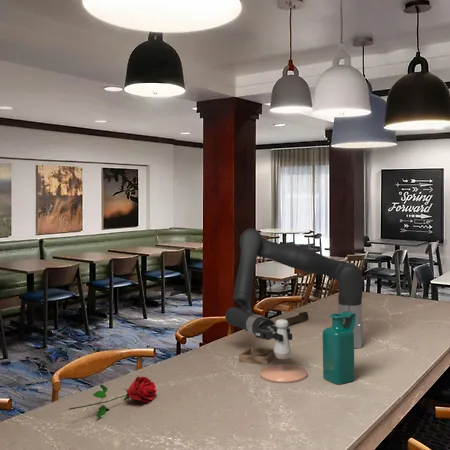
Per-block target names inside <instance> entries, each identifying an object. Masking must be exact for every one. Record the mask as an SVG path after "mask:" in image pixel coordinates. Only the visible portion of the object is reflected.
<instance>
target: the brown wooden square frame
mask: <svg viewBox="0 0 450 450" xmlns="http://www.w3.org/2000/svg"><path fill="white" fill-rule="evenodd" d="M238 358H239V359H238V361H239V363H248V364H256V365H266V366H269V364H270V363H271V362H272V361H273V360H274V359H275V358H277V357H276V356H275V353H274V348H263V347H262V348H261V347H253V346H249V347H247V348H246V349H245V350H244V351H243V352H242V353H241V352H240V354H239V355H238Z"/></svg>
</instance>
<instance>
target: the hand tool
mask: <svg viewBox="0 0 450 450" xmlns="http://www.w3.org/2000/svg"><path fill="white" fill-rule="evenodd" d="M283 319H284V320H287V321H288V327H290V326H292V325H294V324H297V323H304V322H307V321H308V320H309V314H308V312H307V311H302V312H299V313H298V315H294V316H291V317H288V318H283Z"/></svg>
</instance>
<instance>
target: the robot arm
mask: <svg viewBox="0 0 450 450" xmlns="http://www.w3.org/2000/svg"><path fill="white" fill-rule="evenodd" d="M239 237H240V238H239V248H240V256H239V257H240V258H239V265H238V269H237V274H236V278H235V279H236V280H235V284H234V289H233V297H232V299H233V300H234V301H235V302H236V303H238V304H239V305H240V307H236V306H232V307H231V306H230V308H228V309H227V310H226V312H225V316H224V317H225V318H224V319H225V321H226V322H227V324H229V325H231V326H233V327H236V328H239V329H243V330H245V331H246V332H249V333H250V334H251V335H253V336H255V338H257V339H262V340H266V341H271V340H274V341H275V340H278V341H280V342H282V341H283V335H281V334H278V333H277V327H276V323H275V322H274V320H272V319H271V318H269V317H268V318H267V317H266V316H263V315H260V314H256V313H254V312H253V309H252V293H253V286H254V276H255V266H256V260H257V257H260V258H265V259H269V260H270V261H271V260H272V261H274V262H276V263H279V264H281V265H284V266H288V267H289V268H291V269H295V270H299V271H302V272H306V273H311V274H317V275H323V276H326V277H328V278H332V279H333V280H335V281H337V282H338V295H337V296H338V297H337V298H338V299H337V302H338V303H337V307H338V308H337V310H338V311H337V312H338V313H339V314H342V312H343V311H348V312H351V313H355V314H356V319H355V326H354V329H353V332H354V349H362V348H363V344H364V322H363V314H362V311H363V309H362V308H363V307H362V305H363V304H362V302H363V301H362V299H363V274H362V271H361V269H360V268H359V267H358V266H357V265H356V264H354V263H351V262H345V261H342V260H337V259H333V258H330V257H327V256H325V255H323V254H320V253H319V252H316V251H313V250H311V249H308V248H304V247H303V246H302V247H301V246H300V245H295V244H291V243H279V242H278V243H277V242H273V241H270V240H268V239H266V238H263V237H262V233H261V232H260V231H259V230H257V229H255V228H250V227H249V228H247V229H245V230H244V231H243V232H242V233H241V235H240V236H239ZM343 320H344V322H345V319H343ZM286 329H287V334H288V340H289V341H292V340H293V333H291V328H290V326H288V327H287V328H286Z"/></svg>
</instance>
